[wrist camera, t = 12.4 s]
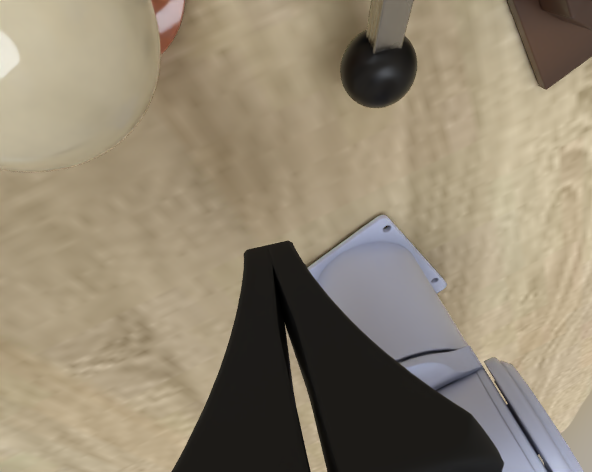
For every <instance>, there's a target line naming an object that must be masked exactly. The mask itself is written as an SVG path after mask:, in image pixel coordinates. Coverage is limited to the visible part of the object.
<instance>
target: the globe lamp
mask: <svg viewBox="0 0 592 472" xmlns="http://www.w3.org/2000/svg"><path fill="white" fill-rule="evenodd" d="M184 8H185V0H0V170H5V171H12V172H29V173H33V172H48V171H55V170H60V169H66V168H71V167H74V166H78V165H81V164H84V163H86V162H89V161H91V160H93V159H95V158H97V157H99V156H101V155H103V154H105V153H107V152H108V151H110V150H111V149H113V148H114V147H116V146H117V145H118V144H119V143H121V142H122V141H123V140H124V139H125V138H126V137H127V136H128V135H129V134H130V133H131V132H132V131H133V130H134V129H135V127H136V126H137V125H138V124H139V123H140V121H141V120H142V118H143V116H144V115H145V113H146V111H147V110H148V107H149V105H150V103H151V100H152V98H153V95H154V93H155V90H156V86H157V82H158V78H159V72H160V62H161V54H162V53H163V52H165V50H166V49H167V48H168V47H169V45H170V44H171V43H172V41H173V39H174V38H175V36H176V34H177V32H178V30H179V27H180V25H181V22H182V18H183V14H184Z"/></svg>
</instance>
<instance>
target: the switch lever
mask: <svg viewBox="0 0 592 472" xmlns="http://www.w3.org/2000/svg"><path fill="white" fill-rule="evenodd" d="M413 1H414V0H371V7H370V13H369V20H368V26H367V30H365V31H363V32H362V33H360V34H359V35H357V36H356V37H355V38H354V39H353V40H352V41H351V42H350V44H349V45H348V46H347V48H346V50H345V52H344V54H343V57H342V61H341V68H340V73H341V80H342V84H343V86H344V88H345V90H346V92H347V93H348V95H349V96H350V97H351V98H352V99H353V100H354V101H356V102H357V103H358V104H361V105H363V106H366V107H370V108H382V107H386V106H389V105H392V104H394V103H396V102H397V101H399V100H400V99H401V98H402V97H403V96H404V95H405V94H406V93H407V92H408V91H409V89H410V87H411V86H412V84H413V82H414V79H415V76H416V71H417V58H416V53H415V50H414V48H413V46H412V44H411V42H410V41H409V40H408V39H407V37H406V36H405V32H406V28H407V24H408V20H409V17H410V13H411V9H412V5H413Z"/></svg>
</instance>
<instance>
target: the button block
mask: <svg viewBox="0 0 592 472" xmlns="http://www.w3.org/2000/svg"><path fill="white" fill-rule="evenodd" d="M507 1H508V4H509V7H510V9H511V12H512V15H513V17H514V20H515V23H516V25H517V28H518V31H519V33H520V36H521V39H522V41H523V44H524V47H525V49H526V52H527V55H528V57H529V60H530V63H531V65H532V68H533V71H534V73H535V76H536V79H537V81H538V84H539V86H540V87H542V88H544V89H548V88H549V87H551V86H552V85H553V84H555V83H556V82H557V81H559V80H560V79H562V78H563V77H564V76H566V75H567V74H568V73H570V72H571V71H572V70H574V69H575V68H577V67H578V66H579V65H581V64H582V63H583V62H585V61H586V60H588V59H589V58H590V57H592V0H507Z"/></svg>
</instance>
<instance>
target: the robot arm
mask: <svg viewBox="0 0 592 472" xmlns="http://www.w3.org/2000/svg"><path fill="white" fill-rule="evenodd" d="M385 226H388V227H387V228H384V227H385ZM446 285H447V283H446V282H445V280H444V279H443V278H442V277H441V276H440V274H439V273H438V272H437V271H436V270H435V269H434V268H433V267H432V265H431V264H430V263H429V262H428V261H427V260H426V259H425V258H424V257H423V255H422V254H421V253H420V252H419V251H418V250H417V249H416V248H415V246H414V245H413V244H412V243H411V242H410V241H409V240H408V239H407V238H406V236H405V235H404V234H403V233H402V232H401V231H400V230H399V229H398V227H397V226H396V225H395V224H394V223H393V222H392V221H391V220H390V219H389V217H388V216H386V215H379V216H378V217H376V218H375V219H373V220H372V221H371V222H369V223H368V224H366V225H365V226H364V227H362V228H361V229H360V230H358V231H357V232H355V233H354V234H353V235H351V236H350V237H349V238H347V239H346V240H344V241H343V242H342V243H340V244H339V245H338V246H336V247H335V248H333V249H332V250H331V251H329V252H328V253H327V254H325V255H324V256H322V257H321V258H320V259H318V260H317V261H316V262H314V263H313V264H311V265H310V266H309V267H306V266H305V264H304V263H303V261H302V260H301V258H300V256H299V255H298V253H297V251H296V249H295V247H294V245H293V243H292V242H290V241H284V242H280V243H275V244H271V245H266V246H262V247H257V248H253V249H249V250H246V252H245V253H244V272H243V280H242V288H241V293H240V298H239V304H238V309H237V313H236V317H235V321H234V325H233V329H232V332H231V336H230V340H229V343H228V346H227V349H226V353H225V356H224V359H223V361H222V364H221V367H220V370H219V373H218V375H217V378H216V380H215V383H214V385H213V388H212V390H211V393H210V395H209V398H208V400H207V402H206V405H205V407H204V409H203V411H202V414H201V416H200V418H199V420H198V422H197V424H196V426H195V428H194V430H193V432H192V434H191V436H190V438H189V440H188V442H187V444H186V446H185V448H184V450H183V452H182V454H181V456H180V458H179V460H178V461H177V463H176V465H175V467H174V468H173V470H172V472H310V467H309V463H308V458H307V454H306V449H305V445H304V440H303V436H302V431H301V426H300V422H299V417H298V413H297V408H296V403H295V397H294V391H293V384H292V376H291V369H290V361H289V353H288V346H287V338H286V331H285V325H286V328H287V331H288V334H289V337H290V340H291V343H292V346H293V349H294V352H295V355H296V358H297V361H298V364H299V367H300V370H301V373H302V376H303V379H304V382H305V385H306V388H307V391H308V394H309V398H310V401H311V405H312V409H313V413H314V418H315V422H316V426H317V430H318V434H319V438H320V442H321V447H322V451H323V455H324V459H325V463H326V468H327V472H584V471H583V470H582V468H581V466H580V464H579V463H578V461H577V459H576V458H575V456H574V455H573V453H572V451H571V450H570V448H569V447H568V445H567V443H566V442H565V440H564V439H563V437H562V436H561V434H560V432H559V431H558V429H557V428H556V426H555V425H554V423H553V422H552V420H551V419H550V417H549V416H548V414H547V413H546V411H545V410H544V408H543V407H542V405H541V404H540V402H539V401H538V399H537V398H536V396H535V395H534V393H533V392H532V391H531V389H530V388H529V386H528V385H527V384H526V382H525V381H524V379H523V378H522V377H521V375H520V374H519V373H518V371H517V370H516V369H515V368H514V366H513V365H512V364H510V363H507V362H504V361H499V360H498V359H497V358H495V357H492V358H490V359H488V360H486V361H484V363H485V364H486V366H487V368H488V369H489V371H490V372H491V374H492V376H493V377H494V379H495V381H494V382H495V383H496V385H497V387H498V388H499V390H500V391H501V393H502V395H503V396H504V398H505V400H506V401H507V403H508V404H507V405H506V403H505V402H504V400H503V399H502V397H501V395H500V394H499V392H498V390H497V389H496V387H495V386H494V384H493V382H492V381H491V379H490V377H489V376H488V374H487V373H486V371H485V369H484V368H483V366H482V365H481V363H480V361H479V360H478V358H477V356H476V355H475V353H474V352H473V350H472V348H471V347H470V346H468V344H467V342H466V341H465V339H464V337H463V336H462V334H461V333H460V331H459V329H458V328H457V326H456V324H455V323H454V321H453V320H452V318H451V316H450V315H449V313H448V311H447V310H446V308H445V306H444V305H443V303H442V302H441V300H440V298H439V297H438V295H437V293H438V292H440V291H441V290H443V289H444V288H445V287H446ZM284 322H285V323H284ZM538 454H540V456H541V458H542V459H543V462H544V465H543V463H542V462H541V460H540V459H539V457H538Z"/></svg>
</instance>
